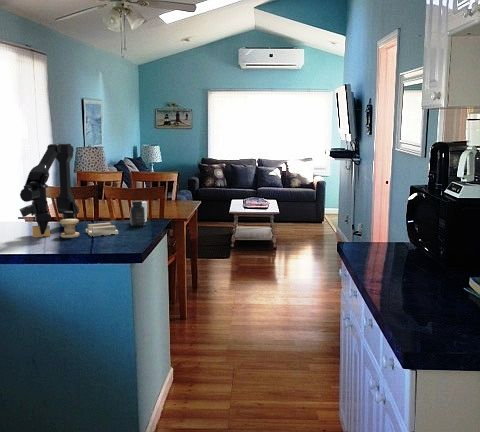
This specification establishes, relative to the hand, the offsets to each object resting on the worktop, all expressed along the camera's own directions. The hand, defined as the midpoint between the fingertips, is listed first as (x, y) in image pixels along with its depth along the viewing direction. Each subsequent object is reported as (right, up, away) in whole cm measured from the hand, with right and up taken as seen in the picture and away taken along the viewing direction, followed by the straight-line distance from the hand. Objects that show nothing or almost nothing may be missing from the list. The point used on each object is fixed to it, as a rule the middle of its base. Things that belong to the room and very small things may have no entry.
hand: (42, 233), depth 248 cm
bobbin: (+12, -1, 0) cm, 13 cm away
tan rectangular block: (0, -1, 0) cm, 1 cm away
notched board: (+25, 0, +6) cm, 26 cm away
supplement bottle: (+38, +3, +24) cm, 45 cm away
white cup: (+37, +5, +35) cm, 51 cm away
